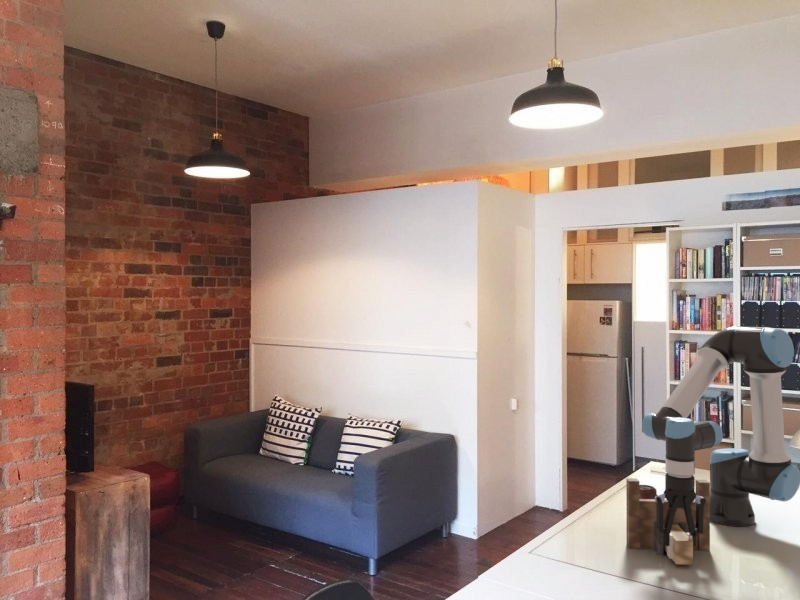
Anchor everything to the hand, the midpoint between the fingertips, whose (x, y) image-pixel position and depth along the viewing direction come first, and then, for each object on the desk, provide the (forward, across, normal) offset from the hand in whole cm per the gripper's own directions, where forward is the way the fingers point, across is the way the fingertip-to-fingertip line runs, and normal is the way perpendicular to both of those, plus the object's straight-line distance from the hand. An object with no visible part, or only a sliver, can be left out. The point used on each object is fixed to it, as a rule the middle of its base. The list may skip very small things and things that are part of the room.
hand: (679, 557), depth 186 cm
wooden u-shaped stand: (+2, 0, -9) cm, 9 cm away
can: (+2, +2, -25) cm, 25 cm away
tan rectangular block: (0, 0, -2) cm, 2 cm away
